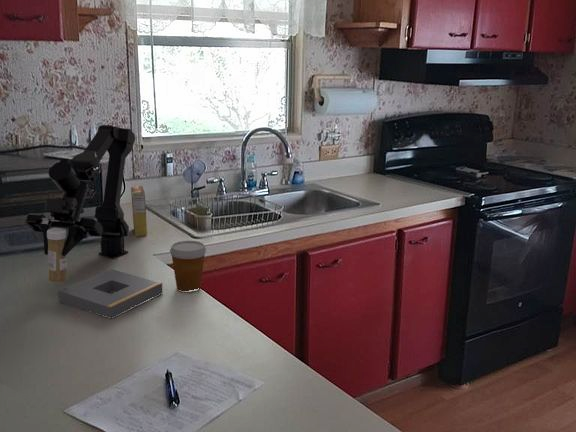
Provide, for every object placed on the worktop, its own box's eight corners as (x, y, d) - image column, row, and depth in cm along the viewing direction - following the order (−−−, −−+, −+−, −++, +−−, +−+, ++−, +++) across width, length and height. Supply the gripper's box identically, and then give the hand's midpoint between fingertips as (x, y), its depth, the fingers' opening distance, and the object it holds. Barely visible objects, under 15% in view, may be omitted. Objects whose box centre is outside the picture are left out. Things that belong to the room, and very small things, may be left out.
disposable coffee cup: (172, 296, 157) (171, 252, 154) (169, 282, 166) (168, 241, 163) (208, 293, 160) (208, 250, 156) (204, 280, 168) (203, 239, 165)
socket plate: (112, 279, 167) (111, 268, 166) (162, 294, 158) (162, 282, 157) (59, 301, 152) (58, 289, 151) (111, 319, 143) (110, 306, 142)
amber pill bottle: (69, 281, 154) (68, 231, 150) (50, 284, 152) (49, 233, 148) (64, 275, 158) (63, 226, 154) (46, 277, 155) (44, 228, 152)
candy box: (132, 228, 212) (130, 186, 208) (145, 228, 213) (143, 185, 209) (134, 236, 204) (132, 192, 200) (147, 235, 205) (145, 191, 201)
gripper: (25, 182, 153) (3, 237, 146) (95, 187, 150) (77, 243, 143) (44, 204, 163) (25, 257, 155) (110, 209, 160) (94, 262, 153)
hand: (54, 254), depth 151 cm, fingers closed on amber pill bottle, 4 cm apart
